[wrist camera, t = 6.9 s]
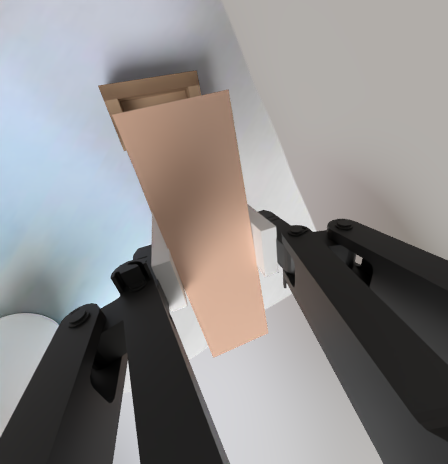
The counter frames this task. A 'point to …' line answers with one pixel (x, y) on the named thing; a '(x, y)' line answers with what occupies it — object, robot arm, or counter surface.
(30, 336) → the wine bottle
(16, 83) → the counter surface
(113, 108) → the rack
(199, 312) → the peach rectangular block
